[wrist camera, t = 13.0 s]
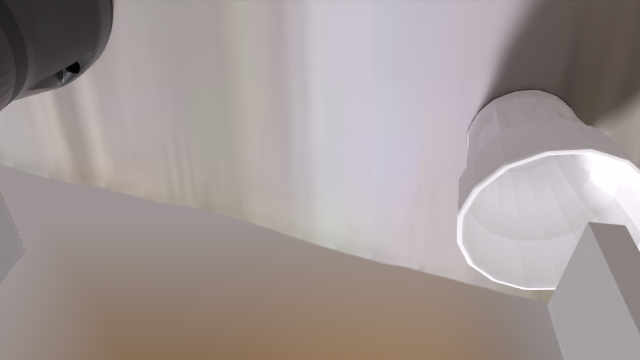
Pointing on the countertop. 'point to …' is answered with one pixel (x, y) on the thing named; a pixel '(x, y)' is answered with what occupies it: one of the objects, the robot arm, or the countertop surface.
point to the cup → (539, 189)
